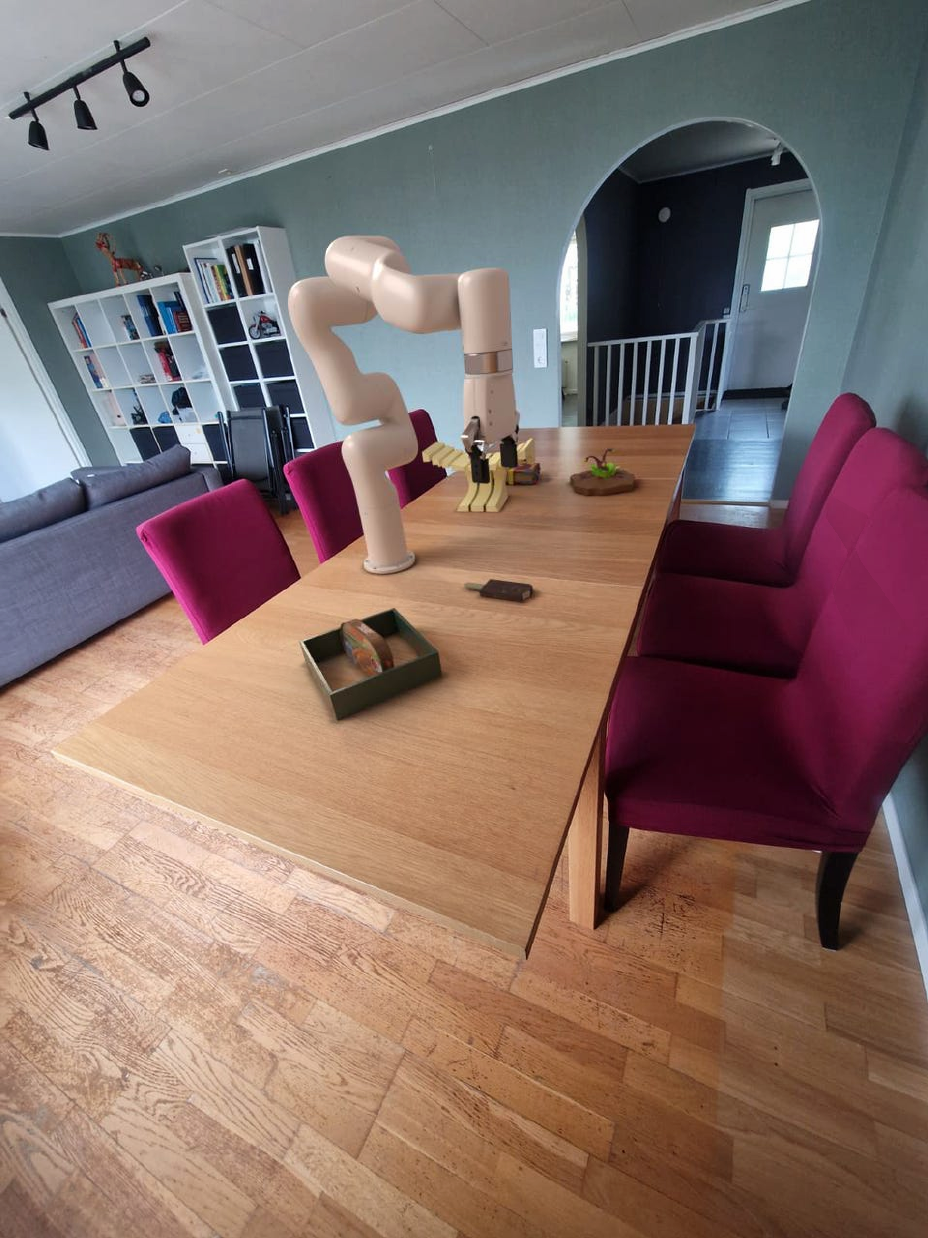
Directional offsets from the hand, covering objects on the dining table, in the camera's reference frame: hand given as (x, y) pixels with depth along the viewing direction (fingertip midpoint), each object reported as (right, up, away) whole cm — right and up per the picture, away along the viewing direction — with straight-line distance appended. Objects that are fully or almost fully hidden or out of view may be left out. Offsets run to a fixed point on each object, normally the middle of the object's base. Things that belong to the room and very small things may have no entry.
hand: (495, 474), depth 88 cm
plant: (+39, +17, +74) cm, 85 cm away
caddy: (-21, -34, 0) cm, 40 cm away
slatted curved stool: (+1, +11, +71) cm, 72 cm away
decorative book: (+13, +23, +88) cm, 92 cm away
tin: (-21, -34, 0) cm, 40 cm away
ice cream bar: (+1, -20, +20) cm, 28 cm away
